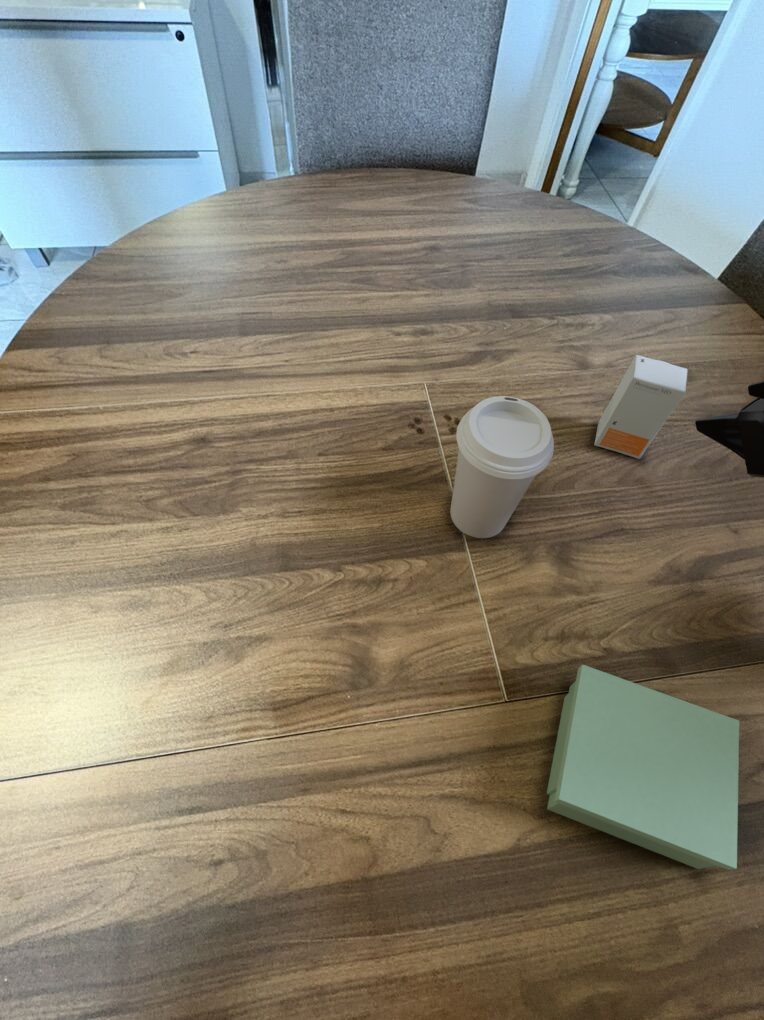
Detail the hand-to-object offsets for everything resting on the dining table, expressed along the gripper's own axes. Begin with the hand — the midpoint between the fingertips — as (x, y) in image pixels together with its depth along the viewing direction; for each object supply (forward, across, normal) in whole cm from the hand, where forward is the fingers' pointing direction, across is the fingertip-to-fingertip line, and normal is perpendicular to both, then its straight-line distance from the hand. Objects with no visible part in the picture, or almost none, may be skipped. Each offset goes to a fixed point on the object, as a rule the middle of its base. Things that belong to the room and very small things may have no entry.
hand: (723, 407), depth 63 cm
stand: (-5, +29, +23) cm, 37 cm away
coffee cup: (+17, +22, +4) cm, 28 cm away
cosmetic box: (+16, -1, +5) cm, 16 cm away
